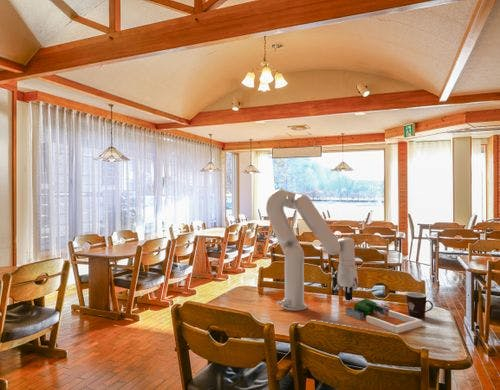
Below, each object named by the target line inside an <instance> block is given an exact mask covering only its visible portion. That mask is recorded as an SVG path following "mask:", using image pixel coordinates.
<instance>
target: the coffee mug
mask: <svg viewBox="0 0 500 390" xmlns="http://www.w3.org/2000/svg"><path fill="white" fill-rule="evenodd" d="M405 297H406V305H407V310H408V311H407V312H408V316H411V317H414V318H417V319H420V320H423V319H425V314H426V313H428V312H429V311H431V310H432V309H433V308H434V303H433V302H431V300H428V299H427V297H428V296H427V295H426V293H421V292H415V291H414V292H413V291H412V292H406V293H405ZM427 302H428V303H429V304H430V306H431V307H430V308H429V309H426V305H427V304H426V303H427Z"/></svg>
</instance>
